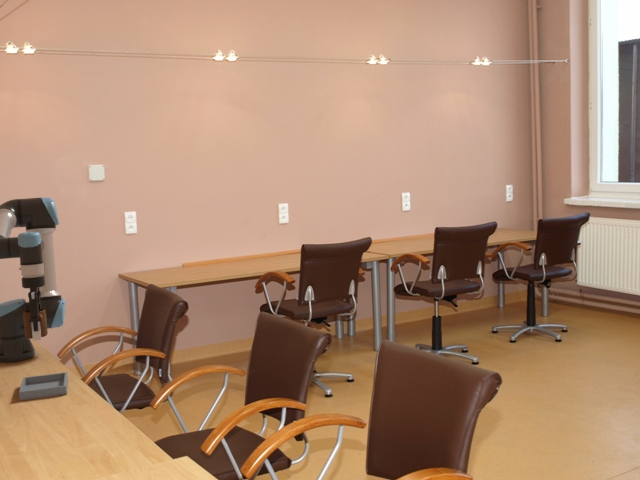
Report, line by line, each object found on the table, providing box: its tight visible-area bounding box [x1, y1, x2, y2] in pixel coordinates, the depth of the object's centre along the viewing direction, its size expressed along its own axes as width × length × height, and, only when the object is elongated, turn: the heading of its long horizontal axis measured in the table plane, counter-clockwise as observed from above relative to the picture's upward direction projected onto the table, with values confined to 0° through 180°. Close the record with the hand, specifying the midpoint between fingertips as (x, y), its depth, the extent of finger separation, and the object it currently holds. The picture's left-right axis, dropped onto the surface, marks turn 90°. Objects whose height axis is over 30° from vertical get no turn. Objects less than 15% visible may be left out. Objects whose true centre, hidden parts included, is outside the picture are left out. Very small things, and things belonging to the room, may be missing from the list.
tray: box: [18, 371, 69, 402], centre depth 249 cm, size 17×15×3 cm
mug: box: [23, 309, 49, 340], centre depth 255 cm, size 12×8×9 cm, turn 36°
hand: (38, 336), depth 256 cm, fingers closed on mug, 11 cm apart
